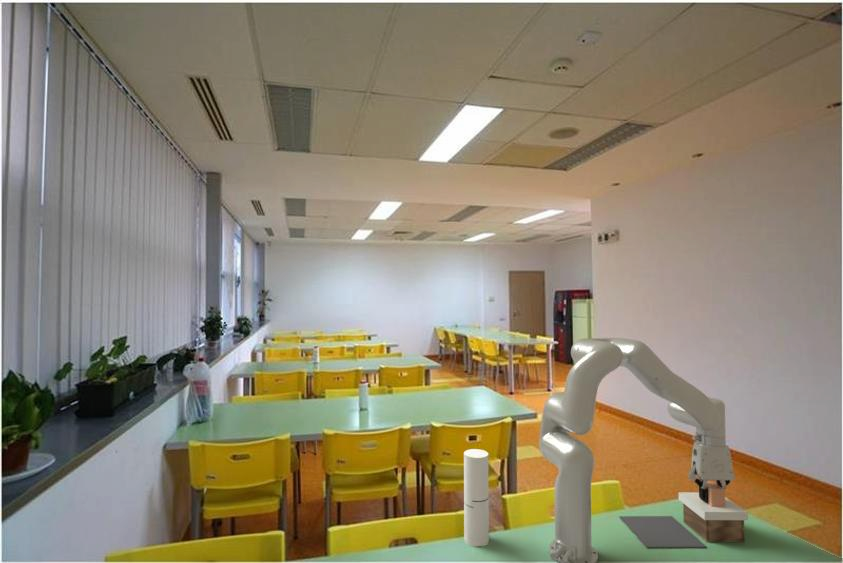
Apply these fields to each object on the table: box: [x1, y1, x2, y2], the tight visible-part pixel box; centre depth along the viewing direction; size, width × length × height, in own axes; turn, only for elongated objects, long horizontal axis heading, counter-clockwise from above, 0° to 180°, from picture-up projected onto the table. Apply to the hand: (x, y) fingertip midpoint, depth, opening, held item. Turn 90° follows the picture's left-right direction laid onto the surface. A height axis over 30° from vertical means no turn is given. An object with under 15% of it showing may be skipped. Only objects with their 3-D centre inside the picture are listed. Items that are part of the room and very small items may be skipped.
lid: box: [678, 480, 749, 521], centre depth 132 cm, size 13×13×7 cm
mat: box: [618, 515, 707, 549], centre depth 132 cm, size 17×17×1 cm
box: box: [682, 503, 745, 543], centre depth 132 cm, size 11×11×8 cm
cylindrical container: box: [463, 448, 490, 547], centre depth 128 cm, size 7×7×25 cm
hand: (711, 500), depth 132 cm, fingers closed on lid, 4 cm apart
